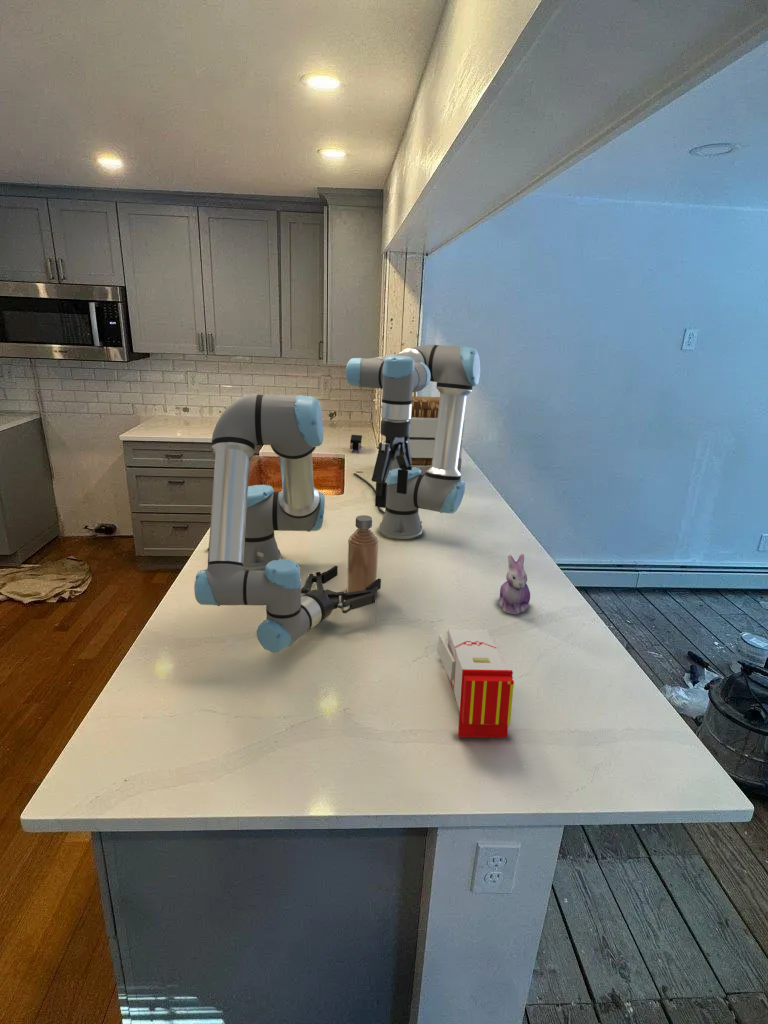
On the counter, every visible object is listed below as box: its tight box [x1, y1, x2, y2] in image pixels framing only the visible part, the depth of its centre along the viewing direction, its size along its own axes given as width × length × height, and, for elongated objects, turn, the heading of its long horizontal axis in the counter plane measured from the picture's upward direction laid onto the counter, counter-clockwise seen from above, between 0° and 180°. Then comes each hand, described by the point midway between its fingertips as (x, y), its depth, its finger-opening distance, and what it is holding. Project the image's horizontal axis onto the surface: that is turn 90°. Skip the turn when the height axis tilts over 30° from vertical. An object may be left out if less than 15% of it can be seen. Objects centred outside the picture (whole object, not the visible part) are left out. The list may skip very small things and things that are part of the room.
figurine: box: [498, 553, 531, 615], centre depth 151 cm, size 9×10×15 cm
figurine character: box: [349, 434, 363, 453], centre depth 311 cm, size 7×8×15 cm
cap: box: [355, 514, 373, 529], centre depth 150 cm, size 4×4×2 cm
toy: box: [437, 628, 515, 738], centre depth 117 cm, size 12×13×30 cm
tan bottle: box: [346, 528, 379, 593], centre depth 153 cm, size 8×8×22 cm
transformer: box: [383, 395, 465, 475], centre depth 268 cm, size 34×33×41 cm
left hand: (357, 576), depth 152 cm, fingers open, 13 cm apart
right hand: (391, 499), depth 150 cm, fingers open, 13 cm apart
